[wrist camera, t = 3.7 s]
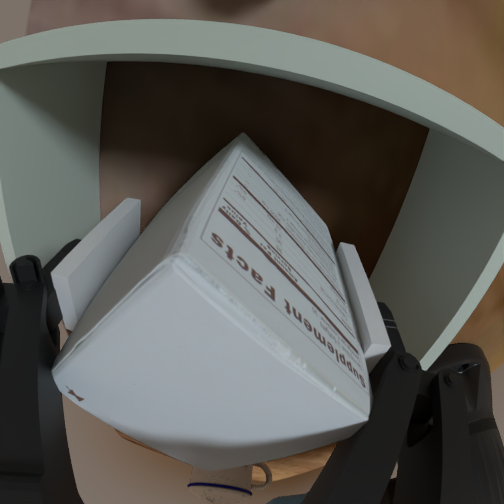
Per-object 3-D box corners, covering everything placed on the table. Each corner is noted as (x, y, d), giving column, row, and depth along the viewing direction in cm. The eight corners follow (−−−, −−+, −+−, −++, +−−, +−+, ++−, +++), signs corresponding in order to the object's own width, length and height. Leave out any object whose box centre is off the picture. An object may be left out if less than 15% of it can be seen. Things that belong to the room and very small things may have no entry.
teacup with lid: (193, 445, 41) (182, 507, 31) (199, 427, 36) (186, 501, 26) (264, 457, 42) (260, 518, 32) (282, 440, 37) (279, 512, 27)
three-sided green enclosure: (96, 47, 13) (-23, 51, 5) (446, 120, 14) (555, 170, 6) (92, 251, 21) (26, 338, 13) (366, 307, 22) (394, 413, 14)
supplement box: (238, 287, 20) (205, 475, 9) (156, 209, 18) (35, 378, 7) (330, 225, 17) (385, 431, 7) (246, 126, 15) (162, 250, 4)
